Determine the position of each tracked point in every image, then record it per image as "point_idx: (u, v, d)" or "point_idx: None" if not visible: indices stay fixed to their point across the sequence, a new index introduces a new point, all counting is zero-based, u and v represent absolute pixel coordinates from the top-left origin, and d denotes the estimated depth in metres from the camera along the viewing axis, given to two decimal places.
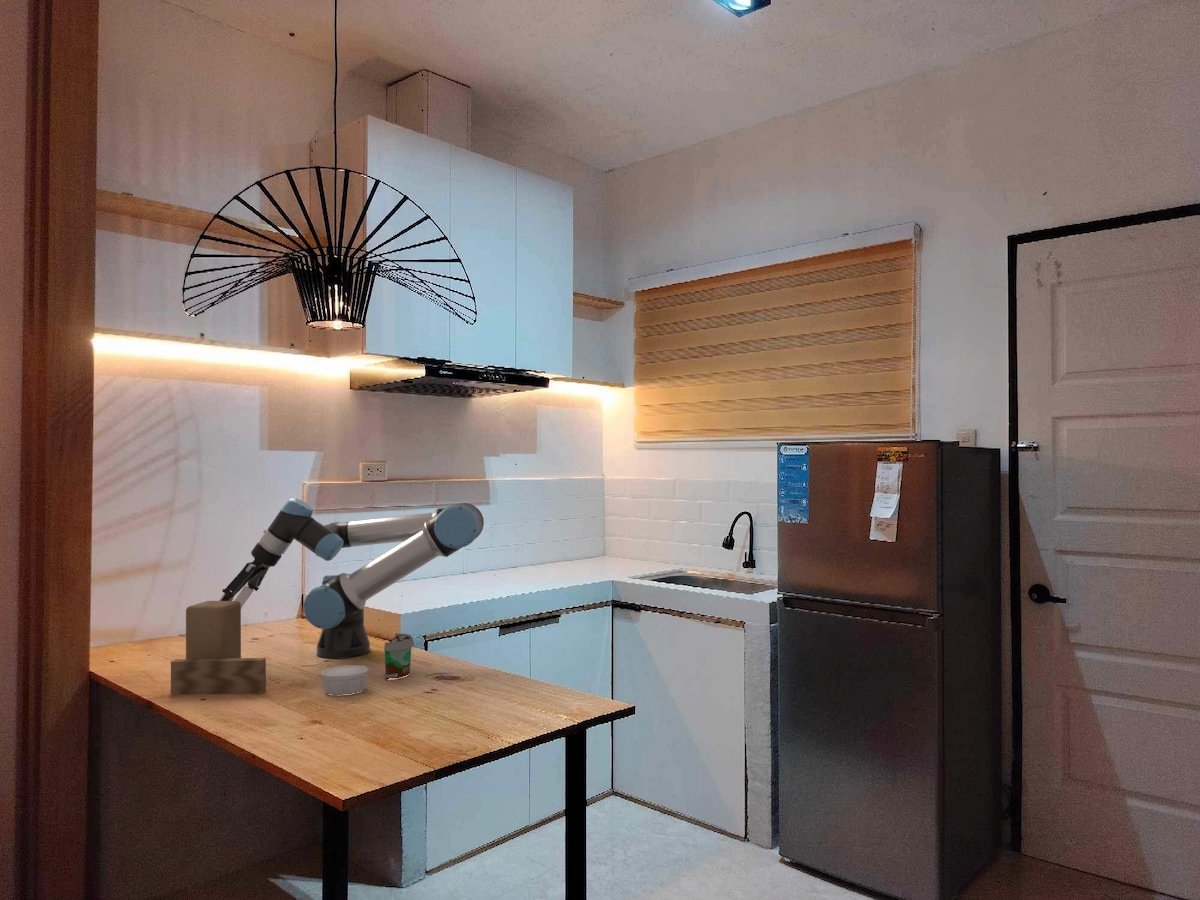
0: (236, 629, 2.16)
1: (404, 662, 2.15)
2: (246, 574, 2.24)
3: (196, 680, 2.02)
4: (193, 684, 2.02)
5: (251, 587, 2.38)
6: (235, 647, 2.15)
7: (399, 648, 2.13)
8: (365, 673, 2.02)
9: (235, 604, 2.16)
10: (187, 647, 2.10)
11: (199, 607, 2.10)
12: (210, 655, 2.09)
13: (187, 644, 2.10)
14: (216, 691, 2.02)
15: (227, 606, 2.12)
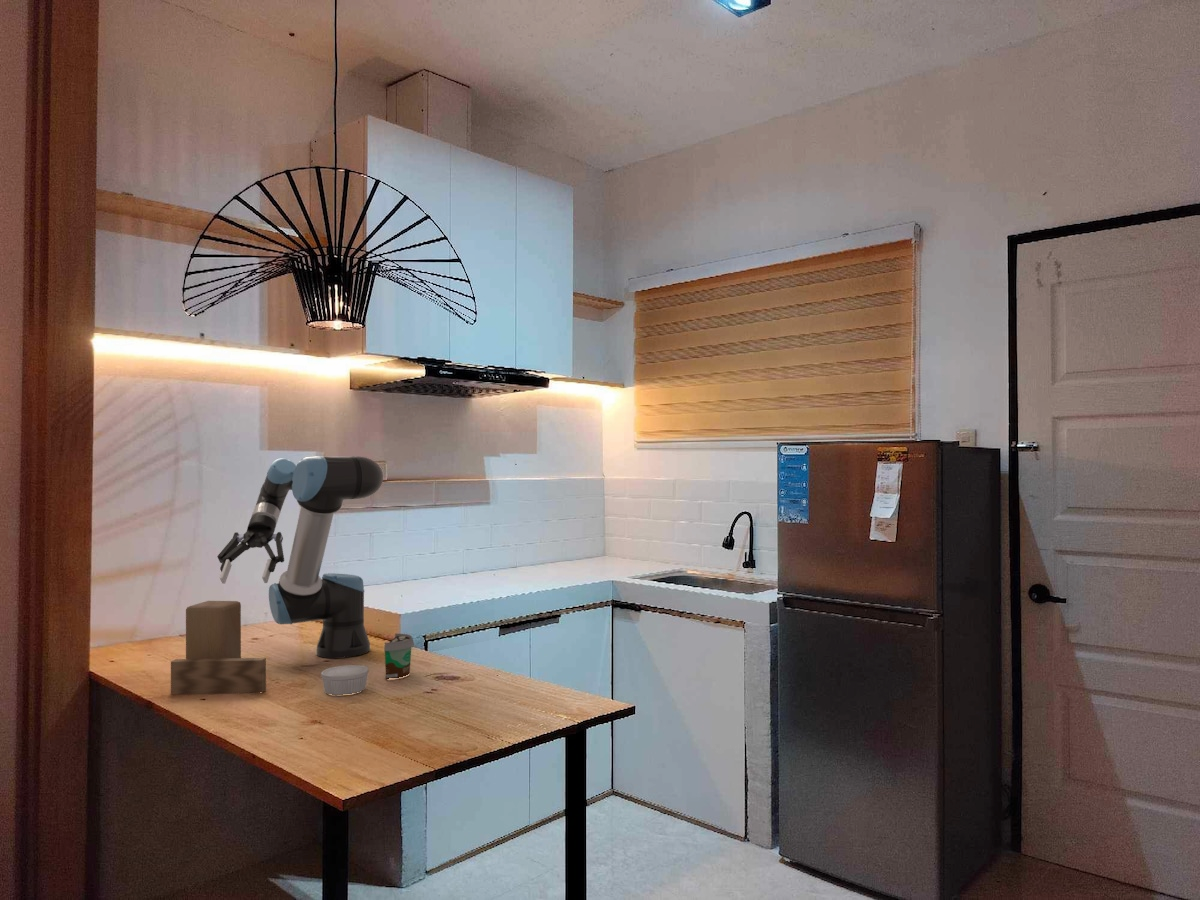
0: (236, 629, 2.16)
1: (404, 662, 2.15)
2: None
3: (196, 680, 2.02)
4: (193, 684, 2.02)
5: None
6: (235, 647, 2.15)
7: (399, 648, 2.13)
8: (365, 673, 2.02)
9: (235, 604, 2.16)
10: (187, 647, 2.10)
11: (199, 607, 2.10)
12: (210, 655, 2.09)
13: (187, 644, 2.10)
14: (216, 691, 2.02)
15: (227, 606, 2.12)
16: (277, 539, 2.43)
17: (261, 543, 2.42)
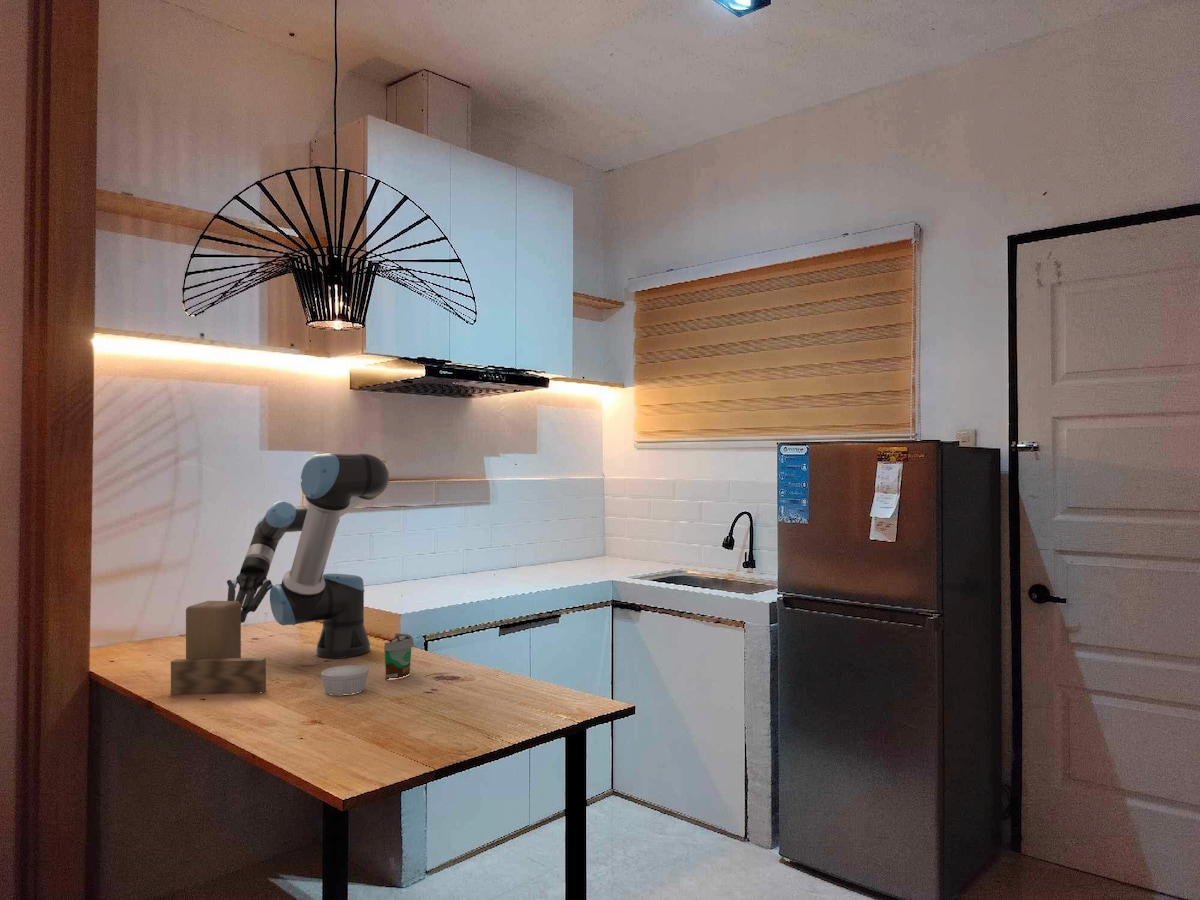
0: (236, 629, 2.16)
1: (404, 662, 2.15)
2: None
3: (196, 680, 2.02)
4: (193, 684, 2.02)
5: None
6: (235, 647, 2.15)
7: (399, 648, 2.13)
8: (365, 673, 2.02)
9: (235, 604, 2.16)
10: (187, 647, 2.10)
11: (199, 607, 2.10)
12: (210, 655, 2.09)
13: (187, 644, 2.10)
14: (216, 691, 2.02)
15: (227, 606, 2.12)
16: (262, 587, 2.38)
17: (254, 586, 2.39)
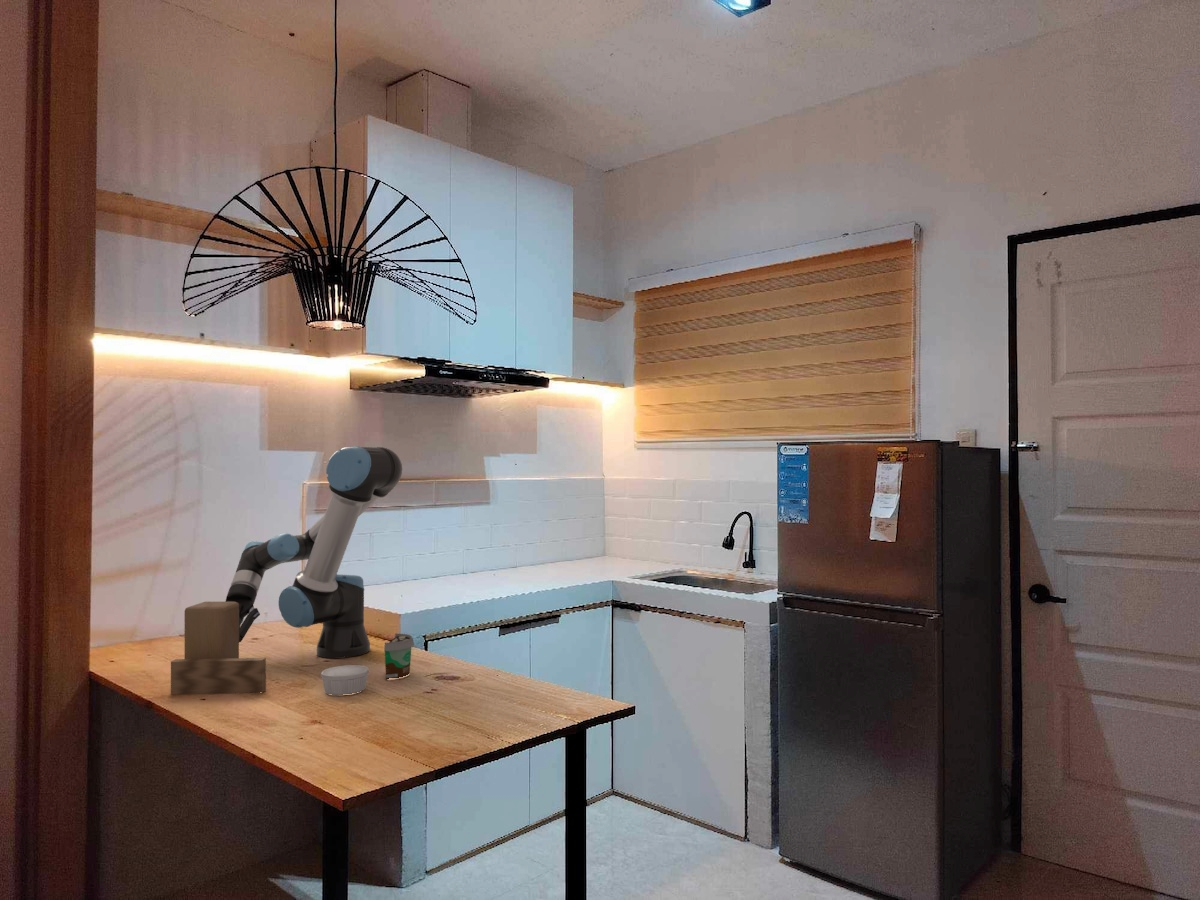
0: (235, 630, 2.15)
1: (404, 662, 2.15)
2: None
3: (196, 680, 2.02)
4: (193, 684, 2.02)
5: None
6: (234, 648, 2.15)
7: (399, 648, 2.13)
8: (365, 673, 2.02)
9: (234, 604, 2.15)
10: (186, 648, 2.08)
11: (198, 608, 2.09)
12: (209, 656, 2.08)
13: (186, 645, 2.08)
14: (216, 691, 2.02)
15: (226, 607, 2.11)
16: (249, 615, 2.28)
17: (240, 615, 2.29)
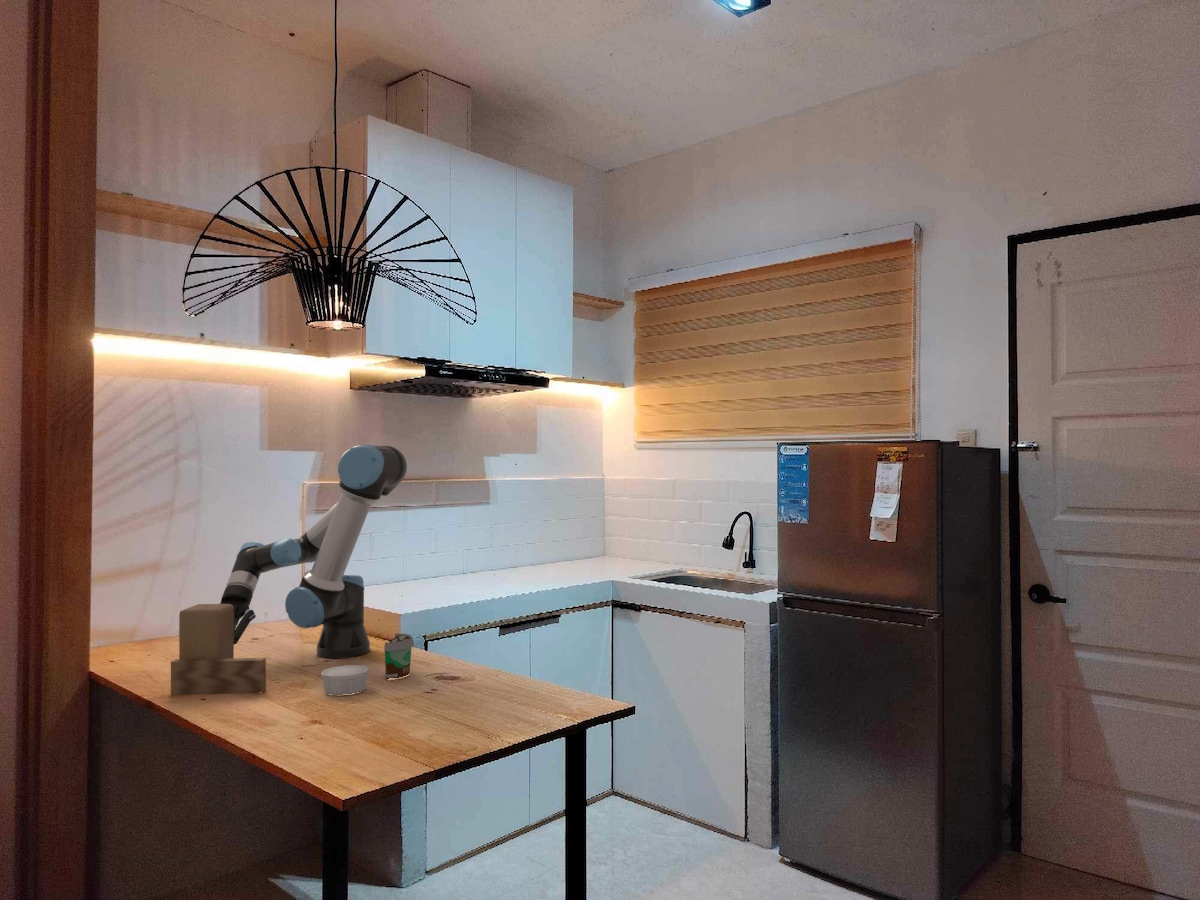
0: (230, 632, 2.12)
1: (404, 662, 2.15)
2: None
3: (196, 680, 2.02)
4: (193, 684, 2.02)
5: None
6: (229, 651, 2.11)
7: (399, 648, 2.13)
8: (365, 673, 2.02)
9: (229, 607, 2.12)
10: (181, 652, 2.04)
11: (194, 611, 2.05)
12: None
13: (181, 649, 2.04)
14: (216, 691, 2.02)
15: (222, 609, 2.08)
16: (244, 617, 2.25)
17: (235, 617, 2.25)
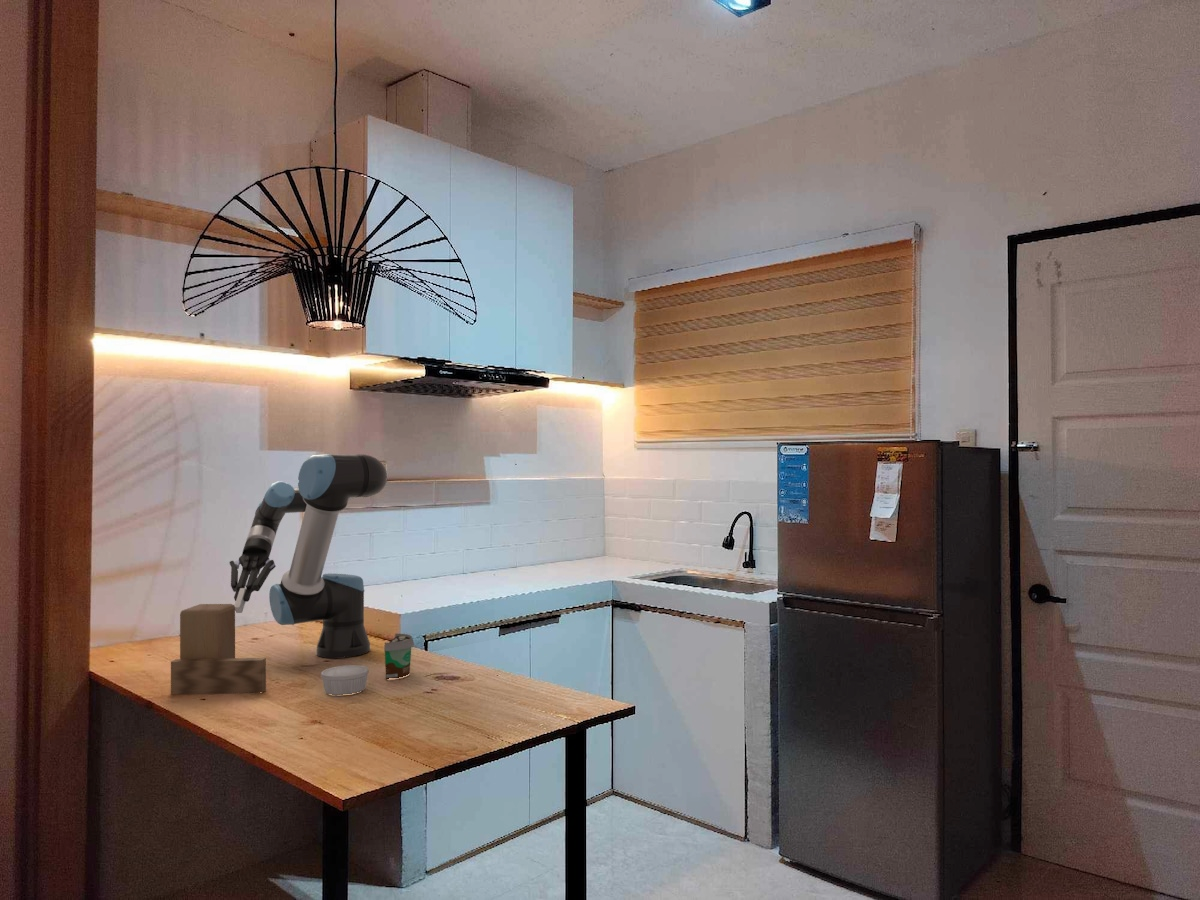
0: (231, 632, 2.12)
1: (404, 662, 2.15)
2: None
3: (196, 680, 2.02)
4: (193, 684, 2.02)
5: None
6: (230, 651, 2.11)
7: (399, 648, 2.13)
8: (365, 673, 2.02)
9: (230, 607, 2.12)
10: (181, 652, 2.05)
11: (194, 610, 2.05)
12: None
13: (181, 649, 2.05)
14: (216, 691, 2.02)
15: (223, 609, 2.08)
16: (265, 566, 2.40)
17: (257, 567, 2.40)
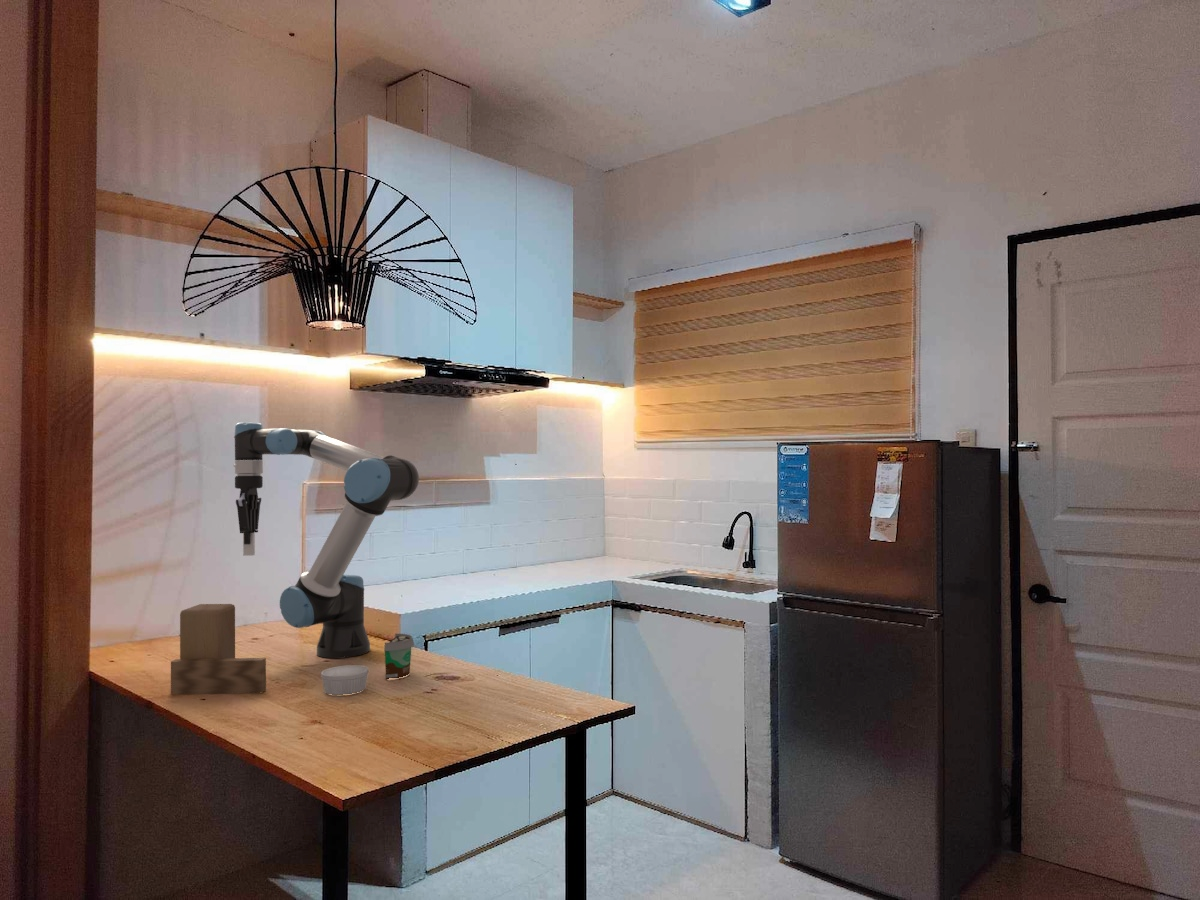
0: (231, 632, 2.12)
1: (404, 662, 2.15)
2: (243, 508, 2.38)
3: (196, 680, 2.02)
4: (193, 684, 2.02)
5: None
6: (230, 651, 2.11)
7: (399, 648, 2.13)
8: (365, 673, 2.02)
9: (230, 607, 2.12)
10: (181, 652, 2.05)
11: (194, 610, 2.05)
12: None
13: (181, 649, 2.05)
14: (216, 691, 2.02)
15: (223, 609, 2.08)
16: (259, 506, 2.48)
17: None
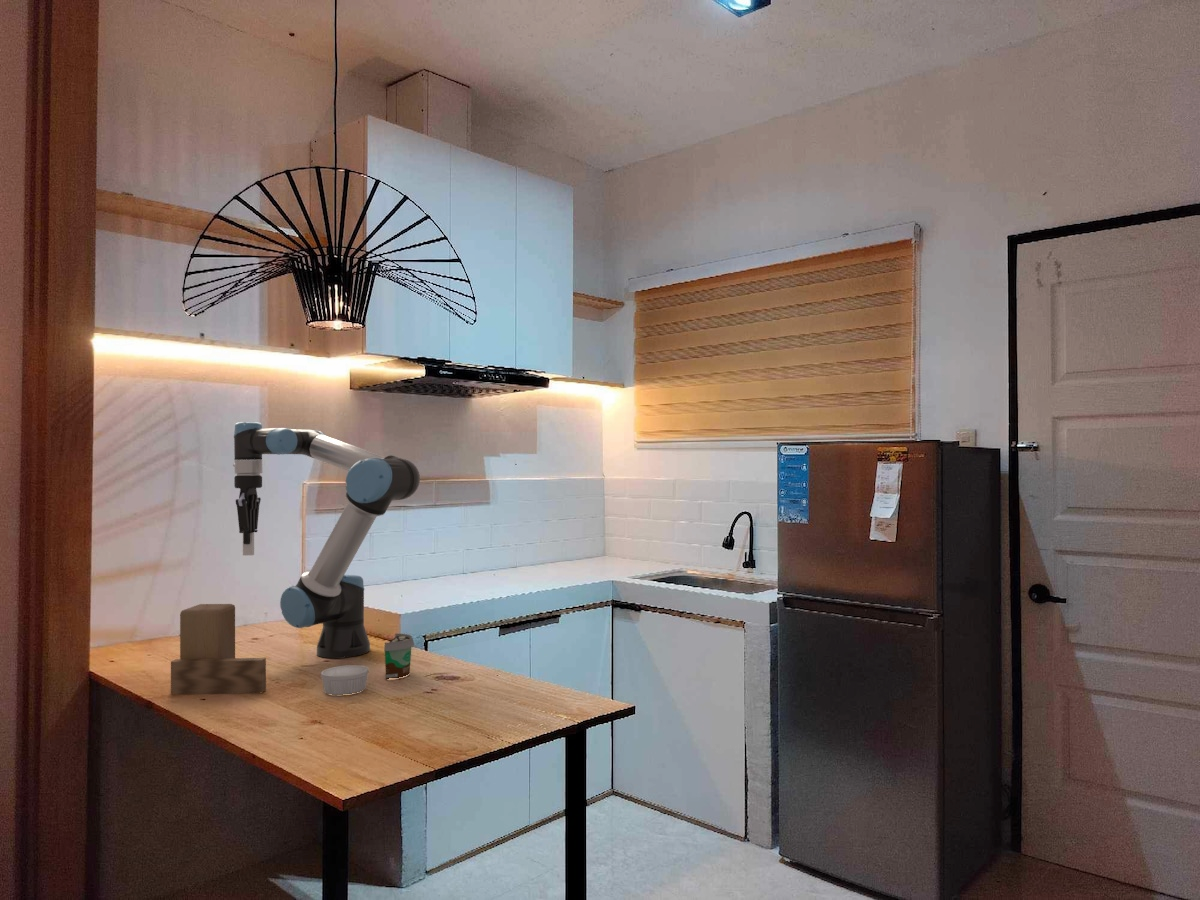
0: (231, 632, 2.12)
1: (404, 662, 2.15)
2: (243, 508, 2.38)
3: (196, 680, 2.02)
4: (193, 684, 2.02)
5: None
6: (230, 651, 2.11)
7: (399, 648, 2.13)
8: (365, 673, 2.02)
9: (230, 607, 2.12)
10: (181, 652, 2.05)
11: (194, 610, 2.05)
12: None
13: (181, 649, 2.05)
14: (216, 691, 2.02)
15: (223, 609, 2.08)
16: (258, 506, 2.47)
17: None
